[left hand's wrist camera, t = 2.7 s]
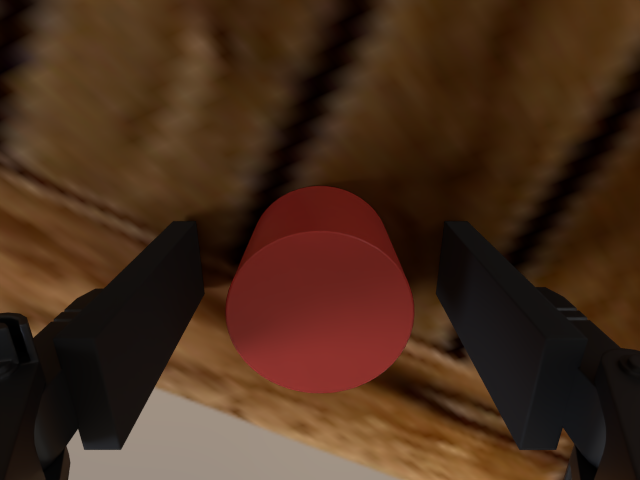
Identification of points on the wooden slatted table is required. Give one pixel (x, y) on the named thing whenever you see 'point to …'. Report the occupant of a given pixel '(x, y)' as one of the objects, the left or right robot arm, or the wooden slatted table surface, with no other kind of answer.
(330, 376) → the red cylinder
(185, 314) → the left robot arm
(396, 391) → the wooden slatted table surface
